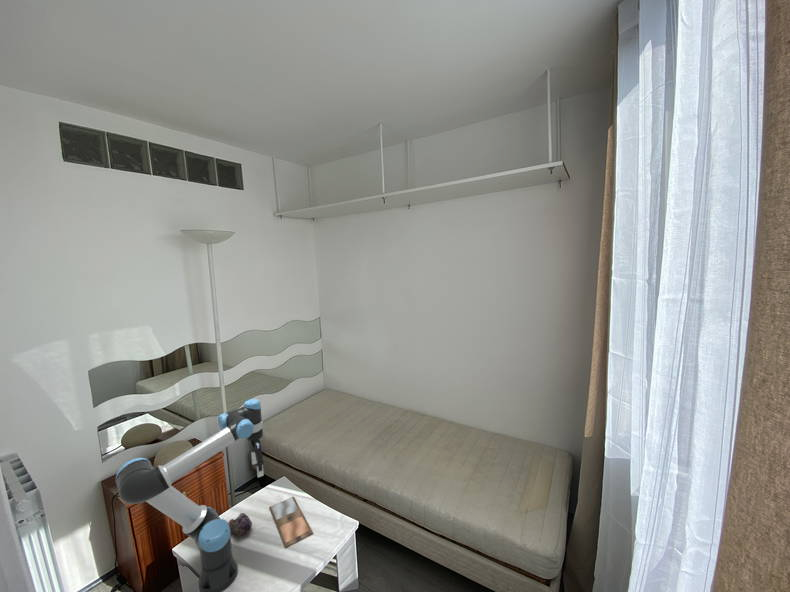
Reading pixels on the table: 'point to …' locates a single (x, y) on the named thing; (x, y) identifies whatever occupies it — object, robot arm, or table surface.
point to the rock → (240, 524)
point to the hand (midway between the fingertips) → (257, 469)
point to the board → (290, 522)
